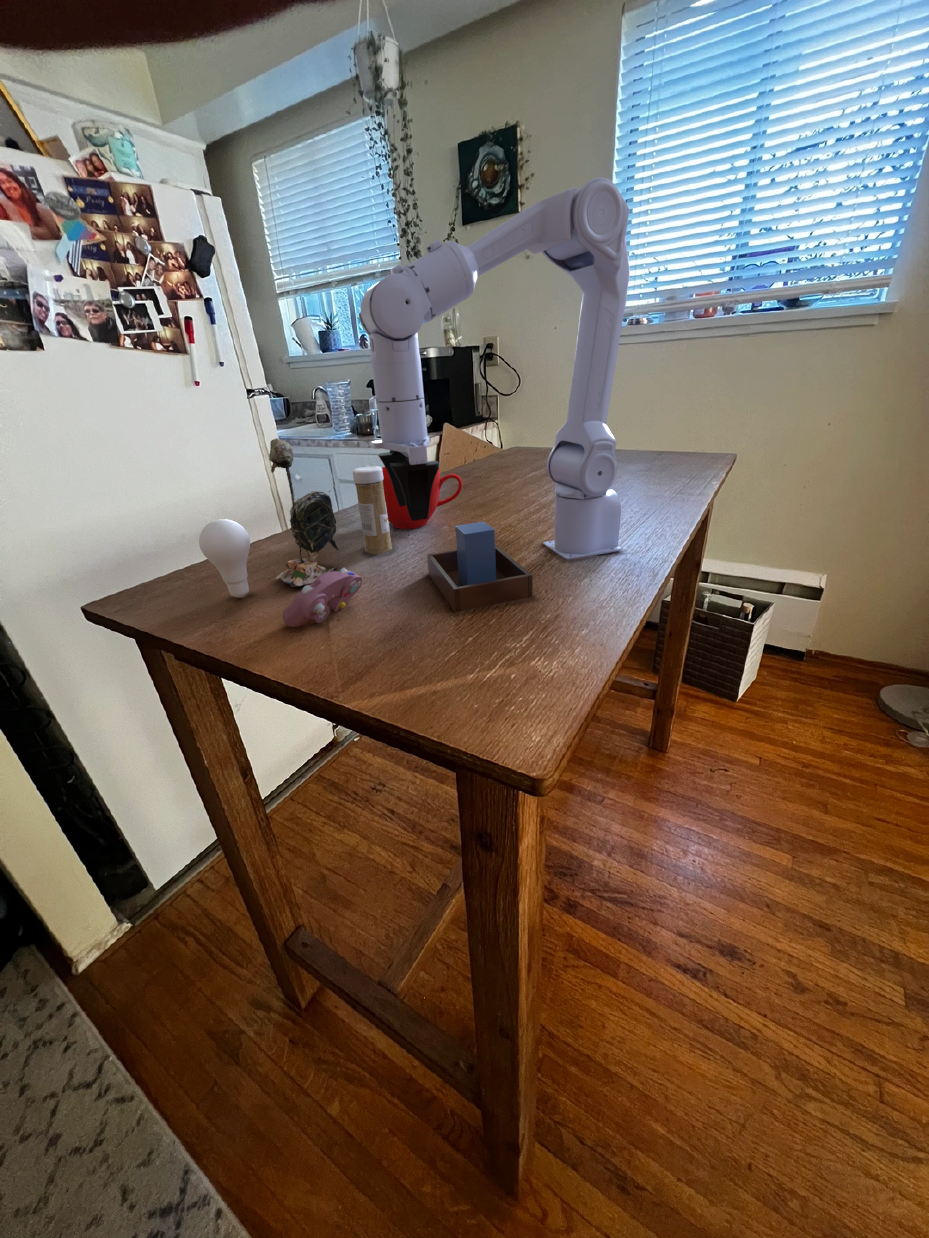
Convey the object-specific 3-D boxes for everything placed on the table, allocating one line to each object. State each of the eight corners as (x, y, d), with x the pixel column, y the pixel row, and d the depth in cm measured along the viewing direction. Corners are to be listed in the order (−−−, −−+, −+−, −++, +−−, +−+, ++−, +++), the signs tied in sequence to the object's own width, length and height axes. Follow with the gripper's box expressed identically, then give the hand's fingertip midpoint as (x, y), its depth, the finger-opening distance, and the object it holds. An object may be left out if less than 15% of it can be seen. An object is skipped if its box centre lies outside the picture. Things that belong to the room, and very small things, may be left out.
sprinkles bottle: (397, 551, 83) (386, 467, 76) (372, 557, 81) (359, 472, 74) (385, 544, 86) (374, 464, 80) (360, 550, 84) (347, 468, 78)
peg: (486, 576, 70) (483, 521, 66) (496, 587, 67) (494, 529, 63) (458, 581, 69) (455, 525, 65) (468, 592, 66) (464, 534, 62)
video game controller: (304, 645, 60) (312, 602, 55) (277, 622, 61) (283, 579, 56) (360, 611, 67) (371, 571, 63) (336, 591, 68) (345, 551, 64)
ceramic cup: (464, 531, 90) (460, 474, 85) (370, 536, 91) (362, 480, 86) (464, 511, 101) (462, 460, 97) (382, 515, 102) (375, 465, 97)
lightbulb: (219, 611, 66) (193, 530, 61) (216, 594, 71) (192, 518, 66) (267, 599, 68) (246, 521, 63) (261, 584, 73) (241, 510, 68)
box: (495, 564, 75) (494, 543, 73) (532, 599, 64) (532, 574, 62) (429, 576, 72) (426, 554, 71) (456, 614, 61) (454, 589, 60)
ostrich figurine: (359, 570, 76) (337, 431, 67) (290, 594, 70) (254, 443, 60) (332, 558, 82) (308, 427, 72) (265, 579, 75) (229, 439, 66)
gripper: (359, 399, 65) (374, 503, 71) (376, 407, 53) (392, 531, 59) (412, 395, 67) (422, 496, 73) (440, 401, 54) (450, 522, 61)
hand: (412, 511), depth 66 cm, fingers open, 7 cm apart
